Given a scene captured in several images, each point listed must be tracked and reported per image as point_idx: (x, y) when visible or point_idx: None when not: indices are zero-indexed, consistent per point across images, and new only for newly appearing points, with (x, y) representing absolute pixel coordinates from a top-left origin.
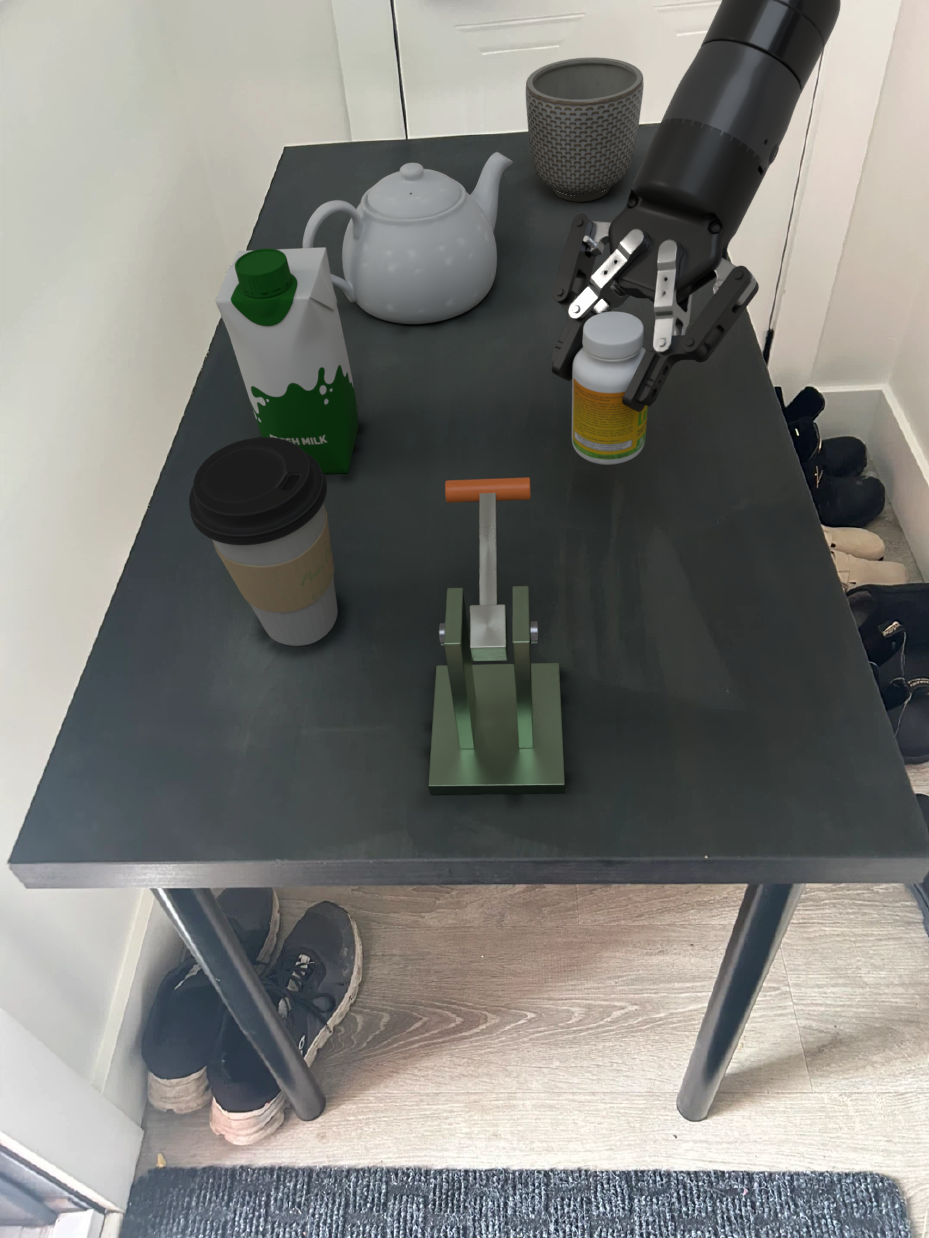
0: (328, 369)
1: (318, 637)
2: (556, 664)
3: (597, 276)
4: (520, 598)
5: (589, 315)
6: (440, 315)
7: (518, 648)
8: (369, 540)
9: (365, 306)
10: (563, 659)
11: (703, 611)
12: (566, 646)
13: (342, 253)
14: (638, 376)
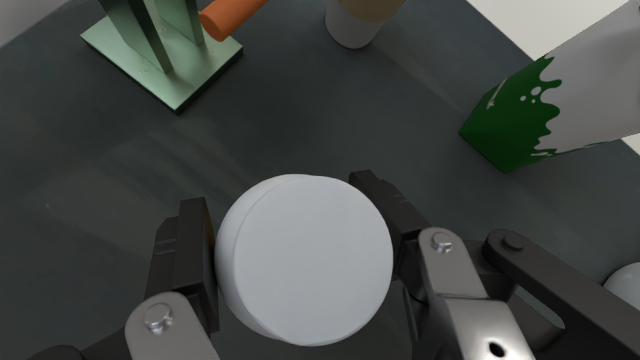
0: (557, 92)
1: (325, 18)
2: (174, 107)
3: (498, 322)
4: None
5: (417, 273)
6: None
7: None
8: (387, 101)
9: (638, 262)
10: (185, 127)
11: (131, 256)
12: (194, 138)
13: None
14: (189, 233)
